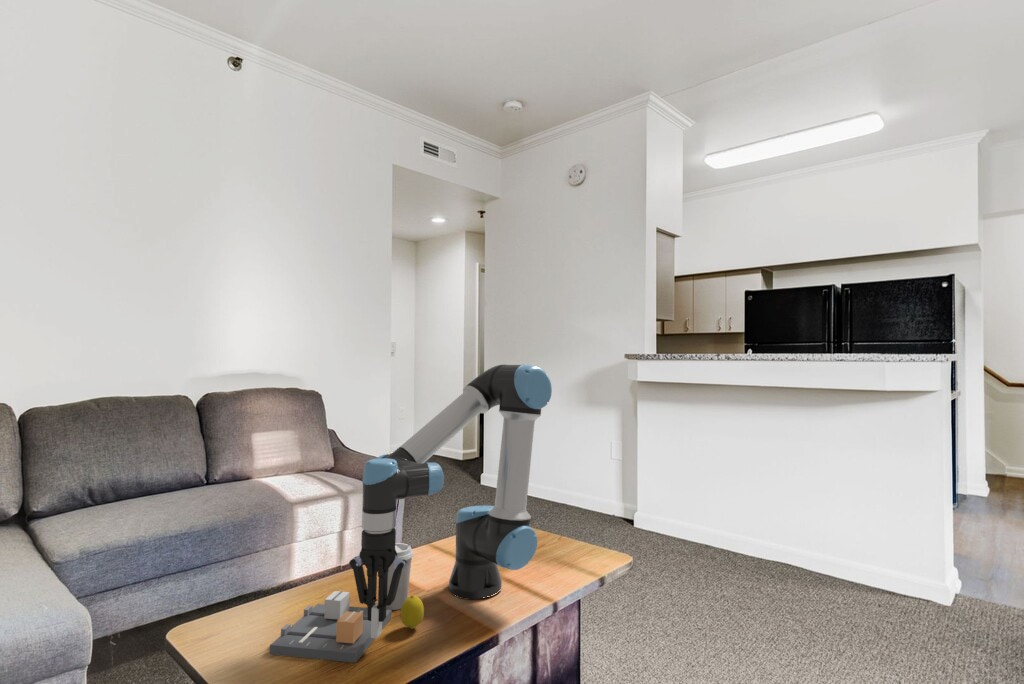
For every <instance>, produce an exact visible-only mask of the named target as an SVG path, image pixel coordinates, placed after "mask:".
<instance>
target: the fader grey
mask: <svg viewBox="0 0 1024 684" xmlns="http://www.w3.org/2000/svg"><path fill="white" fill-rule="evenodd" d="M324 604H325V615H324V618H326V619H337V620H339V619H340V618H341V617H342V616H343V615H344V614H345V613H346V612H347V611H349V607H350V592H349V591H343V590H340V591H339V590H338V591H337V590H334V591H333V592H332V593H331V594H329V595H328V596H327V597H326V598H324Z"/></svg>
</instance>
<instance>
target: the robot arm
mask: <svg viewBox="0 0 1024 684" xmlns="http://www.w3.org/2000/svg"><path fill="white" fill-rule="evenodd" d="M551 382H552V381H551V379H550V377H549V376H548V375H547V372H546V371H545V370H543V369H542V368H541V367H539V366H536V365H532V364H531V365H529V364H498V365H494V366H492V367H490V368H488V369H487V370H485V371H484V372H482V373H480V374H479V375H478V376H476V377H475V378H474V379H472V380H471V381H469V383H467V385H465V386H464V387H463V389H462V393H461V394H460V395H459V396H458V397H457V398H455V399H454V400H453V401H452V402H451V403H450V404H448V405H447V406H446V407H445V408H444V409H442V410H441V411H440V412H439V413H438V414H437V415H435V416H434V417H432V419H431V420H429V421H428V422H427V423H426V424H425V425H424V426H422V427H421V428H420V429H419V430H418V431H416V433H414V434H413V435H412V436H411V437H409V438H408V439H407V440H406V441H405V442H404V443H402V444H401V445H400V446H399V447H398V448H397V449H395V450H394V451H393V452H392V453H389V454H388V453H386V454H381V455H379V456H378V457H376V458H373V459H368V460H367V461H366V462H365V463H364V465H363V474H362V480H361V482H362V513H361V528H362V531H361V539H360V540H361V543H360V545H361V550H360V552H359V555H356V556H354V557H353V558H352V559H350V560H349V562H348V563H349V566H350V567H351V569H352V570H353V571H352V572H353V576H354V580H355V585H356V586H355V587H356V591H357V596H358V601H359V603H360V604H362V605H363V604H364V605H366V606H367V608H368V621H371V638H375V639H378V638H379V637H380V636H381V634H382V632H383V629H382V622H383V621H384V620H385V618H386V610H387V609H386V606H387V605H388V606H390V605H391V604H392V602H393V601H394V600H395V596H396V592H397V589H398V585H399V581H400V577H401V573H402V570H403V568H404V567H405V565H406V563H407V561H406V560H401V559H400V558H399V557H397V552H396V550H395V543H397V542H396V541H397V540H396V539H397V537H396V535H397V532H396V531H397V530H396V529H395V527H396V525H397V501H398V500H404V499H410V498H416V497H424V496H426V497H427V496H429V495H434V494H437V493H439V492H440V491H441V490H442V488H443V486H444V484H445V476H444V475H445V474H444V470H443V468H442V466H441V465H440V464H439V463H438V462H427V461H428V460H429V459H430V458H432V456H433V455H435V454H436V453H437V452H438V451H440V450H441V449H442V448H443V447H444V445H446V444H447V443H448V442H449V441H451V440H452V438H454V437H455V436H456V435H457V434H458V433H460V431H462V430H463V429H464V428H465V427H467V425H469V424H470V423H471V422H472V421H473V420H474V419H475V418H476V417H477V416H478V415H480V414H486V413H487V412H488V411H489V410H490V409H492V408H494V407H497V406H499V409H498V412H499V414H501V416H502V417H503V421H502V423H503V424H502V433H501V441H500V442H501V443H500V452H499V461H498V471H497V480H496V482H497V483H496V489H495V490H496V491H495V498H494V499H495V500H494V505H472V506H467V507H463V508H460V509H458V511H457V513H456V518H455V561H454V566H453V568H452V571H451V574H450V578H449V582H448V591H449V590H450V591H449V593H450V592H451V593H452V595H453V594H454V595H453V596H455V595H456V596H455V597H457V596H458V598H460V597H461V598H460V599H464V598H468V599H467V600H479V599H478V598H483V597H487V596H491V595H493V594H495V593H497V592H498V591H499V590H500V589H501V587H502V586H503V585H502V584H503V583H502V581H503V580H502V577H501V574H500V570H499V567H500V568H504V569H507V570H510V571H517V570H518V571H519V570H520V569H523V568H524V567H526V566H527V565H528V564H529V562H530V561H532V559H533V558H534V556H535V554H536V551H537V547H538V535H537V533H536V531H535V530H534V529H533V528H532V527H531V521H532V520H531V519H532V516H531V514H530V513H529V512H528V511H527V503H528V492H529V484H530V483H529V482H530V474H531V473H530V472H531V461H532V454H533V453H532V451H533V441H534V431H535V422H536V420H537V419H538V418H540V417H541V415H542V409H543V408H544V407H547V405H548V403H549V402H550V401H551V398H552V391H553V389H552V383H551ZM393 562H394V568H395V570H394V573H393V576H392V580H391V584H390V588H389V592H388V596H387V587H388V571H389V567H390V566H391V564H392V563H393ZM363 564H364V565H363ZM364 566H365V568H366V574H365V569H364ZM365 575H366V576H365ZM366 577H367V580H366ZM377 581H378V584H377ZM377 585H378V587H377ZM377 588H378V590H377ZM502 588H503V587H502ZM501 590H502V589H501ZM377 591H378V593H377ZM451 593H450V594H451ZM377 595H378V596H377ZM377 597H378V598H377Z"/></svg>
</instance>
